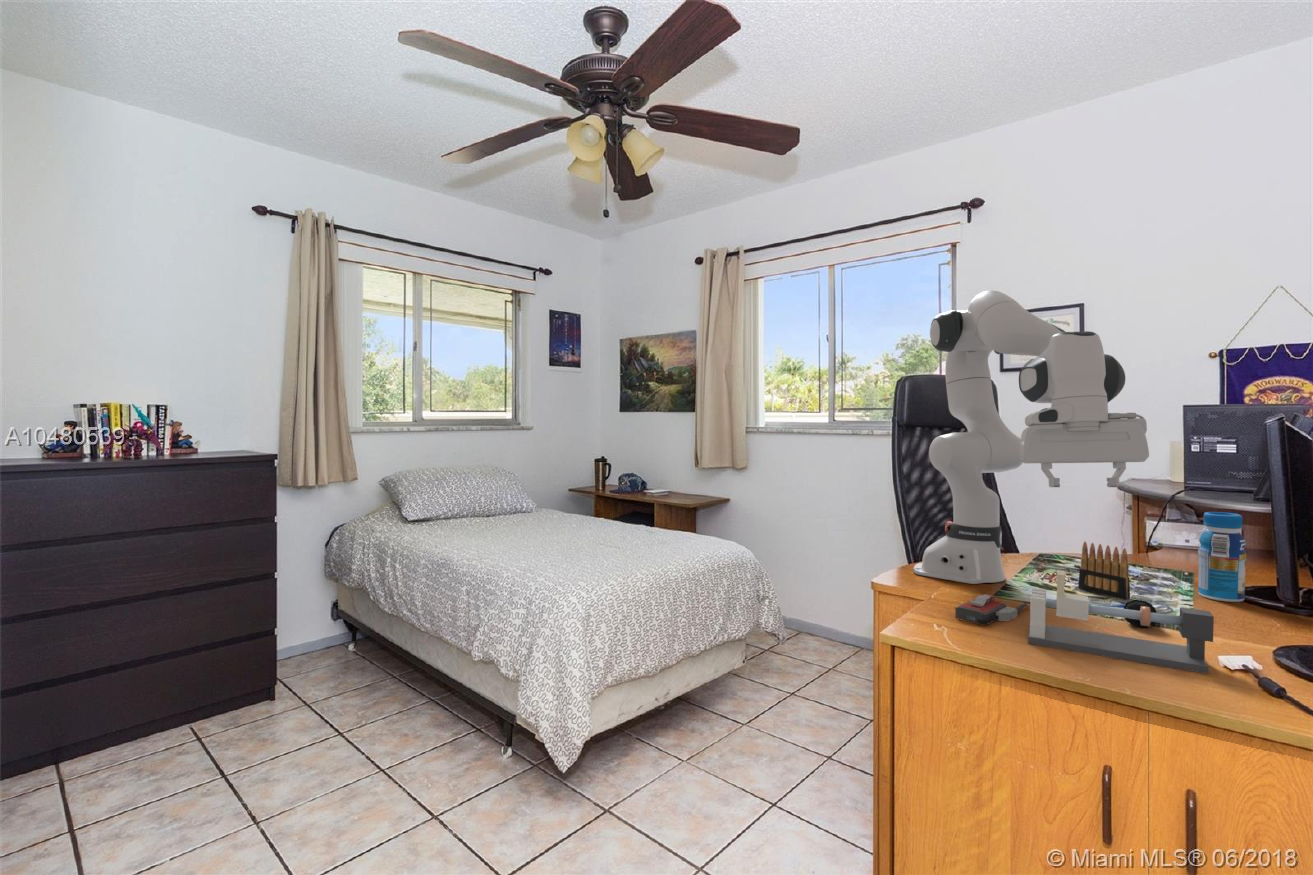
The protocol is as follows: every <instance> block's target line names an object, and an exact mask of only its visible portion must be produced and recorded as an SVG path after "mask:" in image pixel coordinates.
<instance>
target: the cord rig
mask: <svg viewBox="0 0 1313 875" xmlns="http://www.w3.org/2000/svg"><path fill="white" fill-rule="evenodd" d="M1029 605H1030V608H1029V609H1030V611H1029V613H1030V614H1029V615H1030V616H1029V628H1028V633H1027V634H1028V635H1027V644H1030V645H1035V646H1036V645H1037V646H1042V647H1047V648H1055V649H1060V650H1066V651H1071V652H1077V653H1083V654H1089V655H1096V656H1101V657H1107V658H1113V659H1117V660H1118V659H1120V660H1124V661H1125V660H1126V661H1131V662H1136V663H1137V662H1138V663H1141V664H1148V665H1154V666H1160V667H1165V668H1172V669H1176V670H1177V669H1178V670H1183V671H1190V672H1194V673H1195V672H1196V673H1200V674H1208V675H1209V673H1210V672H1209V668H1210V667H1209V665H1208V663H1207V662H1206V660H1205V659H1206V658H1205V657H1206V656H1205V655H1206V654H1205V653H1206V642H1210V643H1214V627H1215V626H1214V622H1215V620H1214V618H1215V617H1214V615H1213V613H1212V612H1211V611H1210V610H1205V609H1197V608H1196V609H1195V608H1189V607H1181V606H1180V607H1179V615H1173V614H1165V613H1158V612H1156V613H1151V612H1150V607H1144V606H1141V608H1140V611H1136V610H1129V609H1124V608H1121V607H1111V606H1104V605H1097V604H1090V603H1089V613H1088V614H1095V615H1102V616H1110V617H1117V618H1124V619H1125V618H1129V619H1136V620H1140V623H1141V625H1143V626H1150V623H1151V622H1155V623H1160V624H1167V625H1173V626H1178V629H1179V631H1178V632H1179V633H1180V635H1181V637H1182V638H1184V639H1186V645H1181V644H1174V643H1169V642H1163V641H1155V640H1150V639H1149V640H1148V639H1142V638H1135V637H1128V636H1124V635H1123V636H1122V635H1115V634H1109V633H1105V632H1104V633H1103V632H1097V631H1091V630H1082V629H1077V628H1070V627H1063V626H1057V625H1050V624H1047V623H1046V622H1047V620H1046V619H1047V617H1046V614H1047V608H1051V609H1052V608H1053V609H1057V599H1054V598H1053V599H1052V598H1047V589H1044V588H1036V587H1032V588H1031V593H1030V604H1029ZM1150 627H1151V626H1150Z"/></svg>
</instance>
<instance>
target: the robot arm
mask: <svg viewBox="0 0 1313 875" xmlns="http://www.w3.org/2000/svg"><path fill="white" fill-rule="evenodd" d="M929 336H930V337H929V338H930V342H931V344H932V346H933V347H934V349H935V350H937V351H940V352H944V353H945V352H946V357H945V367H944V368H945V370H944V372H945V374H944V375H945V387H946V394H947V395H946V396H947V403H948V405H947V406H948V410H949V413H950V415H951V416H953V417H954V418H956V419H957V420H959V421H960V422H961V423H962V424H963V425H964V427H965V428H966V429H967V431H968V432H966V431H965V432H950V433H946V434H942V435H939V436H936V437H935V438H934V439H933V440H932V442H931V443H930V445H929V449H928V457H929V461H930V463H931V464H932V466H933V468H934V469H935V470H937V471H938V472H939V473H941V474H942V476H943V477H944V478H945V479H946V482H947V483H948V485H949V488H950V492H951V495H952V496H951V497H952V510H953V515H952V516H953V519H952V520H953V521H950V520H949V521H947V522H946V523H945V524H944V533H945V535H944V536H943V537H941V538H939V539H938V540H936V541H935V542H933V543H932V544H930V545H929V546H927V547H926V548H925V550H924V552H923V555H922V561H921V562H918V563H916V564H915V565H914V566H913V573H914V574H916V575H918V576H924V577H929V578H935V579H942V580H949V581H954V582H958V583H965V584H969V585H971V584H972V585H978V584H985V583H986V584H987V583H991V584H992V583H1001V582H1004V581H1006V579H1007V577H1006V574H1005V572H1004V571H1005V570H1004V567H1003V563H1002V562H1003V561H1002V555H1001V547H1002V539H1003V537H1002V536H1003V535H1002V534H1003V533H1002V526H1001V525H1000V512H1001V511H1000V501H1001V500H1000V497H999V494H997V493H996V492H995V491H994V490H993V489H991V488H989V487H987V485H986V484H985V482H984V479H983V474H987V473H988V474H989V473H1003V472H1004V473H1005V472H1007V471H1011V470H1016V469H1018V468H1020V467H1021V465H1022V464H1040V467H1041V468H1040V469H1041V471H1042V472H1043V474H1044V475H1045V477H1046V478H1047V479H1048V487H1049V488H1060V487H1061V483H1060V481H1061V480H1060V479H1061V478H1060V477H1055V476H1054V475H1053V473H1052V471H1051V470H1052V469H1053V464H1084V463H1087V464H1088V463H1091V464H1092V463H1093V464H1094V463H1097V464H1098V463H1112V468H1113V469H1115V470H1114V472H1113V474H1112V476H1111V477H1106V486H1107V488H1120V478H1121V476H1123V473H1124V472H1125V470H1126V469H1127V465H1126V464H1127V463H1143V462H1146V461H1147V460H1148V459H1149V457H1150V451H1149V450H1150V449H1149V446H1148V439H1147V436H1146V433H1147V431H1148V427H1147V425H1148V424H1147V420H1146V419H1145V417H1144V416H1143V415H1140V414H1137V413H1136V412H1126V413H1122V412H1121V413H1120V412H1110V413H1109V407H1108V406H1109V405H1108V404H1109V402H1111V401H1112V400H1113V399H1115V398H1116V397H1117V396H1118V395H1119V394H1120V393H1121V392H1122V390H1123V388H1124V387H1125V384H1126V373H1125V370H1124V368H1123V366H1122V364H1121V363H1120V362H1119V361H1118V360H1117V359H1116V358H1115V357H1114V356H1112V355H1110V354H1106V353H1105V351H1104V347H1103V343H1102V340H1101V338H1100V336H1099V334H1098V333H1096V332H1094V331H1090V330H1089V331H1087V330H1086V331H1065V330H1064V329H1062V328H1060V327H1058V326H1056V325H1054V324H1052V323H1049V322H1048V321H1046V320H1043V319H1042V318H1039V317H1038V316H1036V315H1034V314H1033V313H1031V312H1029V310H1027V309H1025V308H1024V307H1023V306H1022V305H1021V304H1020V303H1019V302H1017V300H1015V299H1014V298H1012V297H1011V296H1009V295H1008V294H1005V293H1003V292H1002V291H999V290H993V289H991V290H985V291H982V292H980V293H979V294H977V295H975V297H973V299H972V300H971V301H970V303H969V305H968V308H967V309H960V310H956V309H955V310H949V311H946V312H942V313H939V314H937V315H936V316H935V317H934V318H933V320H932V322H931V324H930V328H929ZM992 352H994V353H996V354H997V355H1000V354H1003V355H1015V356H1017V355H1018V356H1033V357H1035V358H1031V359H1030V360H1029V361H1027V362H1026V363H1025V364H1024V365H1023V366H1022V367H1021V369H1020V370H1019V374H1018V387H1019V391H1020V393H1021V394H1022V396H1024V398H1025V399H1027V400H1028V401H1029V402H1030V403H1037V404H1051V406H1050V407H1048V408H1047V407H1045V408H1043V409H1040V410H1039V411H1035V412H1032V413H1029V414H1028V415H1026V416H1025V418H1024V425H1026V426H1027V427H1026V428H1024V429H1023V431H1022V433H1021V435H1020V437H1019V436H1018V435H1016V433H1013V432H1012V431H1011V430H1010V429H1009V428H1008V426H1006V424H1005V423H1004V421H1003V419H1002V417H1001V416H1000V414H999V412H998V410H997V407H996V403H995V397H994V396H995V395H994V391H993V384H992V377H991V376H992V375H991V372H990V367H989V357H990V354H991V353H992Z"/></svg>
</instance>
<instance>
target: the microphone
mask: <svg viewBox="0 0 1313 875" xmlns="http://www.w3.org/2000/svg"><path fill="white" fill-rule="evenodd" d="M1141 606H1144V607H1150V612H1151V613H1157V611H1156V610H1157V609H1156V608H1155V606H1154V605H1153V604H1152V603H1150V602H1148V601H1146V600H1141V599H1133V600H1130V601H1129V602H1126V603H1125V604H1124V607H1123V609H1129V610H1136V611H1140V608H1141ZM1124 620H1125V621H1127V622H1128V623H1129V624H1130V625H1131V626H1132V627H1137V628H1143V627H1145V628H1144V629H1147V628H1150V627H1152V626H1154V625H1155V623H1156V622H1151V623H1150V626H1143V625H1141V623H1140V620H1136V619H1129V618H1124Z"/></svg>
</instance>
